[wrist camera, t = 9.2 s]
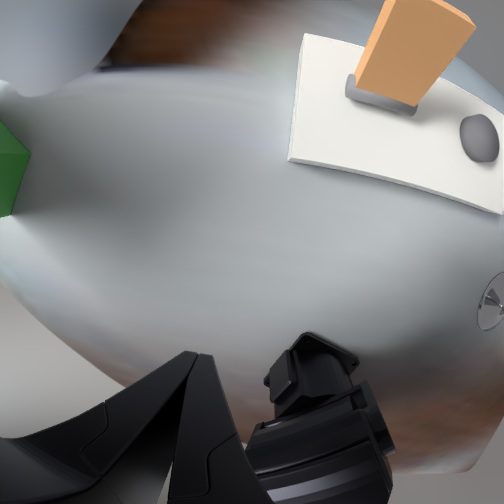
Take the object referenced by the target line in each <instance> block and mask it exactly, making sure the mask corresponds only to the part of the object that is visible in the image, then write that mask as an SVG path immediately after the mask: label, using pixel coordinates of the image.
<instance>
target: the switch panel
mask: <svg viewBox="0 0 504 504" xmlns="http://www.w3.org/2000/svg"><path fill="white" fill-rule="evenodd" d="M364 50H365V47H362V46H358V45H355V44H351V43H347V42H343V41H339V40H335V39H331V38H326V37H322V36H317V35H311V34H306V33H305V34H304V37H303V41H302V45H301V48H300V53H299V63H298V72H297V82H296V91H295V100H294V109H293V118H292V126H291V135H290V143H289V151H288V159H287V161H290V162H296V163H303V164H309V165H314V166H320V167H326V168H331V169H336V170H341V171H346V172H351V173H355V174H360V175H365V176H369V177H373V178H377V179H382V180H386V181H390V182H394V183H397V184H401V185H405V186H409V187H412V188H416V189H419V190H423V191H426V192H429V193H433V194H436V195H439V196H442V197H445V198H449V199H452V200H455V201H458V202H461V203H463V204H466V205H469V206H472V207H475V208H477V209H480V210H483V211H487V212H492V213H496V214H500V215H503V209H504V115H502V114H501V113H500V112H498V111H497V110H495V109H494V108H492V107H491V106H489V105H488V104H486V103H485V102H483V101H482V100H480V99H479V98H477V97H475V96H474V95H472V94H470V93H469V92H467V91H465V90H463V89H462V88H460V87H458V86H456V85H454V84H453V83H451V82H449V81H447V80H445V79H443V78H441V77H438V79H437V80H436V81H435V83H434V84H433V85H432V86H431V88H430V89H429V90H428V91H427V93H426V94H425V95H424V96H423V98H422V99H421V100H420V101H419V102H418V108H417V111H416V113H415V115H414V116H412V117H409V116H406V115H403V114H401V113H398V112H395V111H392V110H389V109H385V108H382V107H379V106H376V105H372V104H369V103H365V102H362V101H358V100H354V99H350V98H346V96H345V86H346V81H347V78H348V76H349V74H354V72H355V70H356V68H357V66H358V63H359V61H360V59H361V57H362V54H363V52H364ZM477 114H483V115H485V116H486V117H488V118H489V119H490V120H491V122H492V123H493V124H494V126H495V128H496V130H497V133H498V137H499V143H500V149H499V154H498V157H497V158H496V160H495V161H493V162H475V161H473V160H472V159H470V158H469V157H468V155H467V154H466V153H465V151H464V149H463V147H462V144H461V140H460V124H461V122H462V120H463V119H464V118H465V117H468V116H472V115H477Z"/></svg>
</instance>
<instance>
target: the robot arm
mask: <svg viewBox="0 0 504 504" xmlns="http://www.w3.org/2000/svg"><path fill="white" fill-rule="evenodd" d="M304 338H308V339H307V340H303V339H304ZM353 362H355V363H353ZM352 363H353V364H352ZM359 363H360V362H359V360H358V358H357V357H355V356H353V355H351V354H349V353H347V352H345V351H343V350H341V349H339V348H337V347H335V346H333V345H331V344H329V343H327V342H325V341H323V340H321V339H319V338H317V337H315V336H313V335H312V334H310V333H303V334H301V335H300V336H299V338H298V339H297V340H296V341H295V343H294V344H293V345H292V346H291V348H290V349H288V350H285V351H284V353H283V354H282V355H281V356H280V357H279V359H278V360H277V361H276V362H275V363H274V365H273V366H272V367H271V368H270V372H269V373H268V375H267V376H266V377H265V378H264V385H265V386H267V387H269V388H270V401H271V402H272V403H274V408H275V420H272V421H269V422H265V423H264V422H261V423H258V424H256V426H255V428H254V431H253V433H252V435H251V438H250V440H249V442H248V445H247V447H246V449H245V451H244V448H243V446H242V443H241V440H240V438H239V435H238V433H237V430H236V427H235V424H234V421H233V418H232V415H231V412H230V409H229V406H228V403H227V400H226V397H225V394H224V391H223V387H222V384H221V381H220V378H219V375H218V371H217V368H216V364H215V361H214V358H213V356H212V355H208V354H203V353H200V354H199V355H198V353H197V352H191V351H183V352H182V353H180V354H179V355H177V356H176V357H174V358H173V359H171V360H170V361H168V362H167V363H165V364H163V365H162V366H160V367H159V368H157V369H156V370H154V371H152V372H151V373H149V374H148V375H146V376H145V377H143V378H141V379H140V380H138V381H137V382H135V383H133V384H132V385H130V386H128V387H127V388H125V389H124V390H122V391H120V392H119V393H117V394H115V395H114V396H112V397H110V398H109V399H107V400H105V403H104V402H102V403H100V404H98V405H97V406H95V407H93V408H91V409H89V410H87V411H86V412H84V413H82V414H80V415H78V416H76V417H73V418H71V419H69V420H67V421H65V422H62V423H60V424H57V425H55V426H52V427H49V428H47V429H44V430H41V431H39V432H36V433H33V434H30V435H28V436H24V437H19V438H1V437H0V504H157V501H158V498H159V496H160V493H161V491H162V488H163V485H164V483H165V480H166V478H167V475H168V472H169V470H170V467H171V465H172V471H171V478H170V484H169V492H168V501H167V504H387V503H388V500H389V497H390V494H391V491H392V487H393V480H392V470H391V467H390V464H389V462H388V459H387V456H388V455H390V454H392V453H394V452H396V449H395V446H394V443H393V441H392V438H391V436H390V433H389V431H388V428H387V426H386V423H385V421H384V419H383V416H382V414H381V412H380V409H379V407H378V405H377V402H376V400H375V398H374V396H373V393H372V391H371V389H370V387H369V384H368V382H367V380H364V381H362V382H360V384H359V385H357V386H355V387H354V386H353V384H352V381H351V379H350V376H349V375H350V374H351V373H352V372H353V371H354V370H355V369H356V368H357V367H358V365H359ZM267 381H270V382H267ZM172 462H173V464H172Z"/></svg>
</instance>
